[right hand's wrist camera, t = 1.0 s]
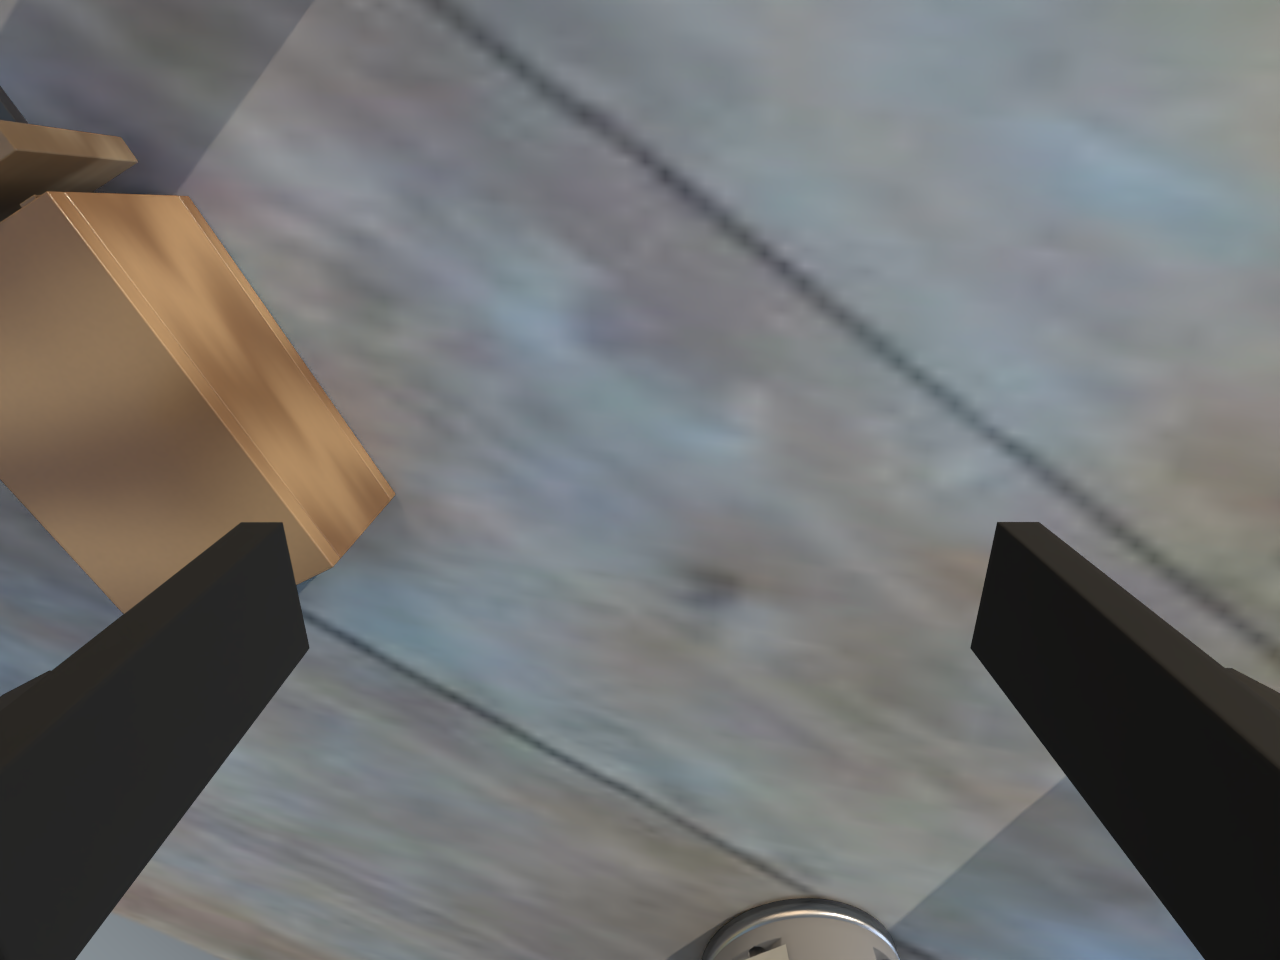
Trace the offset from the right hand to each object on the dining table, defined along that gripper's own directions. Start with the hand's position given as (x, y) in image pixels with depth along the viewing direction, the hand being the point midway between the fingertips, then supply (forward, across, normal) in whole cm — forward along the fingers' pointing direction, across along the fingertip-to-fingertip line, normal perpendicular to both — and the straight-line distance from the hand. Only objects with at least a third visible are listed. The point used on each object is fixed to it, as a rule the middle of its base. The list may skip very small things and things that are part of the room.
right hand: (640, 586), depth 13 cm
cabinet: (+25, +22, +3) cm, 34 cm away
